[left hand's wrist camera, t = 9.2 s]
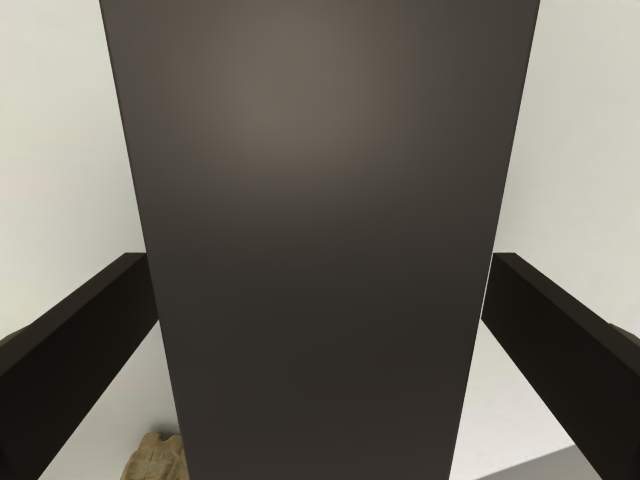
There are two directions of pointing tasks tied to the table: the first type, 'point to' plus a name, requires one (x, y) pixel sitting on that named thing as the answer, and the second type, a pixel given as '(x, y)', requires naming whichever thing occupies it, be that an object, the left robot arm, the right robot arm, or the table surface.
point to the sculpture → (157, 460)
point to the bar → (319, 219)
